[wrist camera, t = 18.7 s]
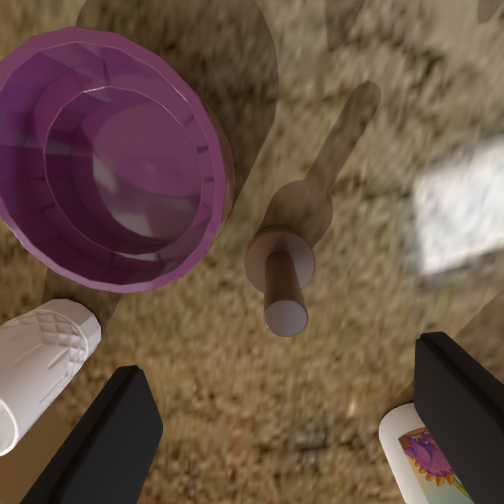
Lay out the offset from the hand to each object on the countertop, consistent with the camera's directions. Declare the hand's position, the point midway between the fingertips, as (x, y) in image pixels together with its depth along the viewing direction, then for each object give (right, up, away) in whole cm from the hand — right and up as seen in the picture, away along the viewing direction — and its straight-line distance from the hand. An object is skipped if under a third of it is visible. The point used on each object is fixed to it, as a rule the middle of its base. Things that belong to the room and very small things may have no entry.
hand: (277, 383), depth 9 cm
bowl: (-10, +11, +12) cm, 19 cm away
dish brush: (+1, +4, +13) cm, 14 cm away
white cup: (-20, -3, +17) cm, 26 cm away
